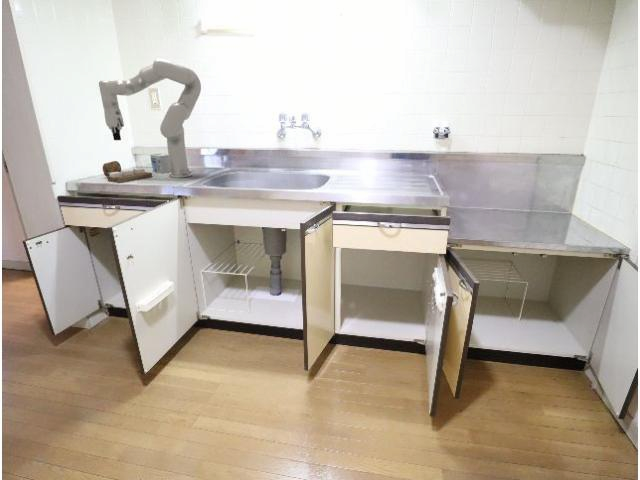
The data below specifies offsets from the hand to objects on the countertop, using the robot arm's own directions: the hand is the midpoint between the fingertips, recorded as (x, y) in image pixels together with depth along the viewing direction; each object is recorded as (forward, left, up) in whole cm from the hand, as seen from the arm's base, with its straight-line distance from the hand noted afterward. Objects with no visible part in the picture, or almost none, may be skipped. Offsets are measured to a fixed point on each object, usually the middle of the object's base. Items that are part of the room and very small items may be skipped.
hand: (117, 140), depth 202 cm
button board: (-8, +1, -21) cm, 23 cm away
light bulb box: (-3, -23, -21) cm, 32 cm away
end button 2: (-6, -6, -20) cm, 21 cm away
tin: (+10, +1, -21) cm, 24 cm away
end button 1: (-6, +8, -20) cm, 22 cm away
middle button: (-6, +1, -20) cm, 20 cm away
